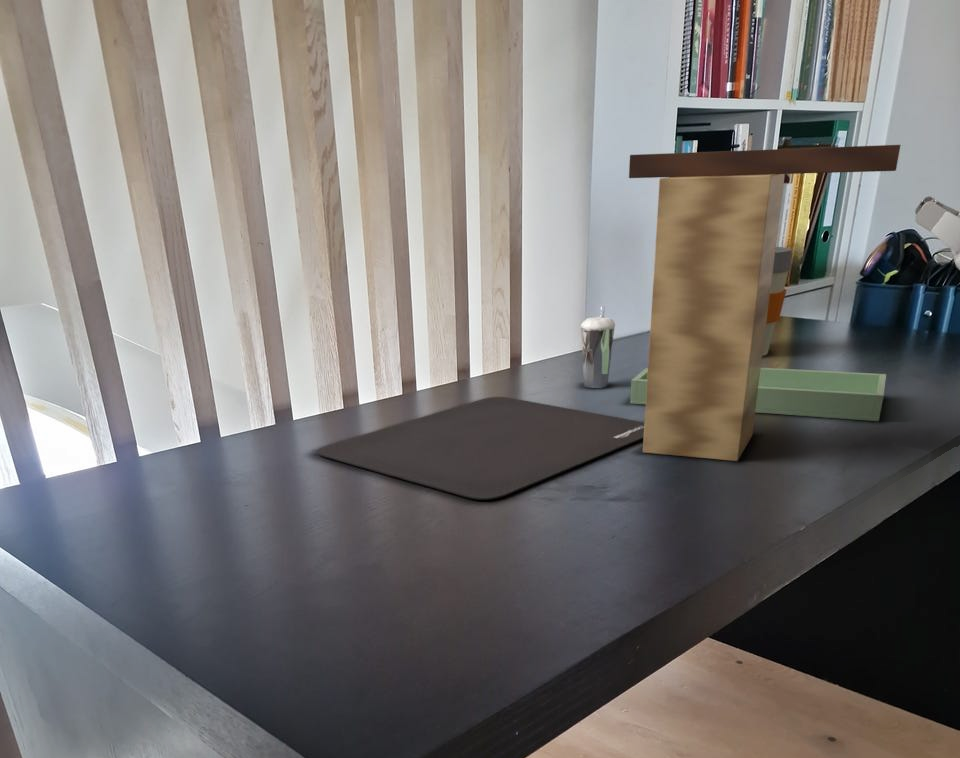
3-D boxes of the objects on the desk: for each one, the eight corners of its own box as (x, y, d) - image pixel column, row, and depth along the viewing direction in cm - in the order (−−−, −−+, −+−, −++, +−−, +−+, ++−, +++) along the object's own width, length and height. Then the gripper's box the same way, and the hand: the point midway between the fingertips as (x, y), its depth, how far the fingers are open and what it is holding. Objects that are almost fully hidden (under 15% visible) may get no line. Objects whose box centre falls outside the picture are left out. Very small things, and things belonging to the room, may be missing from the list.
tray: (881, 398, 109) (886, 374, 107) (878, 421, 100) (883, 395, 98) (652, 384, 120) (653, 361, 118) (630, 403, 111) (631, 380, 109)
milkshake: (616, 381, 122) (619, 306, 117) (608, 390, 117) (611, 313, 112) (584, 380, 123) (586, 306, 118) (576, 388, 119) (577, 312, 114)
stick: (896, 170, 77) (900, 144, 76) (895, 170, 75) (900, 144, 74) (633, 177, 86) (635, 154, 85) (628, 178, 84) (629, 154, 83)
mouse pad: (487, 503, 79) (487, 501, 79) (308, 452, 95) (308, 450, 95) (668, 428, 99) (668, 426, 99) (495, 396, 115) (495, 395, 115)
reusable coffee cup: (685, 356, 136) (694, 252, 128) (715, 342, 144) (725, 245, 137) (764, 363, 129) (778, 254, 122) (790, 348, 138) (804, 246, 131)
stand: (752, 435, 96) (785, 172, 84) (737, 461, 88) (771, 175, 76) (664, 428, 100) (682, 175, 87) (642, 452, 92) (659, 178, 79)
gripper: (1066, 246, 82) (943, 168, 83) (1103, 271, 66) (950, 173, 67) (1013, 306, 86) (896, 230, 87) (1036, 344, 69) (892, 250, 70)
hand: (920, 206), depth 76 cm, fingers open, 8 cm apart
